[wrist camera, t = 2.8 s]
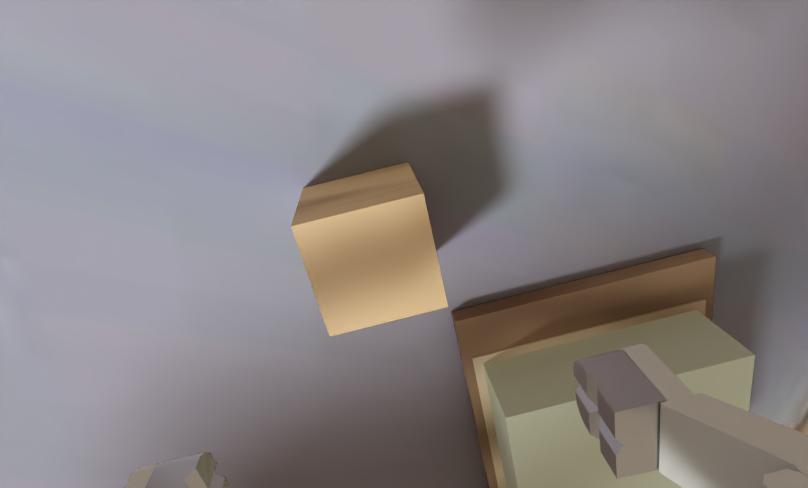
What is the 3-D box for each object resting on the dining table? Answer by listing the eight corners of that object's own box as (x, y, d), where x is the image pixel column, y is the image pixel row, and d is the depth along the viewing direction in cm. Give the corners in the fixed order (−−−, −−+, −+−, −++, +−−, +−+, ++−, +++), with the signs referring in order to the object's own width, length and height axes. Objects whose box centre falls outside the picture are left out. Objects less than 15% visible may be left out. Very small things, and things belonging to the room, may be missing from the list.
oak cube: (428, 255, 24) (448, 306, 19) (333, 279, 24) (329, 336, 19) (408, 161, 22) (423, 193, 17) (303, 187, 21) (290, 226, 17)
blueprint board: (690, 475, 32) (701, 489, 31) (496, 525, 32) (501, 540, 31) (702, 248, 25) (717, 256, 24) (451, 311, 25) (455, 322, 24)
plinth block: (689, 462, 30) (735, 520, 26) (510, 508, 30) (532, 572, 26) (696, 309, 25) (755, 354, 22) (482, 363, 25) (505, 418, 21)
